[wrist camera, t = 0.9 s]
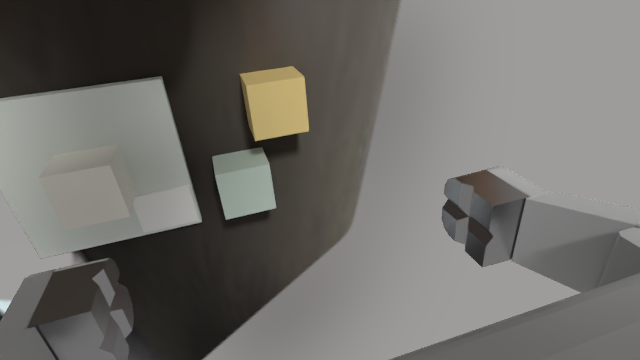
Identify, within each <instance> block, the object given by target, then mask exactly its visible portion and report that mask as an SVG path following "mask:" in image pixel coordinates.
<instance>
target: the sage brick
mask: <svg viewBox="0 0 640 360" xmlns="http://www.w3.org/2000/svg"><path fill="white" fill-rule="evenodd" d="M212 159H213V166H214V173H215V178H216V182H217V186H218V190H219V194H220V198H221V202H222V206H223V210H224V215H225V219H226V220H227V219H232V218H236V217H240V216H245V215H249V214H253V213H257V212H262V211H266V210H270V209H275V208H276V203H275V197H274V191H273V184H272V178H271V171H270V165H269V162H268V160H267V158H266V155H265V153H264V151H263V148H262V147H259V148H253V149H248V150H243V151H238V152H233V153H227V154H222V155H217V156H212Z"/></svg>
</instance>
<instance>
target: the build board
mask: <svg viewBox="0 0 640 360" xmlns="http://www.w3.org/2000/svg"><path fill="white" fill-rule="evenodd" d="M0 192H1V193H2V195H3V197H4V198H5V200H6V202H7V203H8V205H9V207H10V208H11V210H12V212H13V213H14V215H15V217H16V219H17V220H18V222H19V224H20V225H21V227H22V228H23V230H24V232H25V234H26V235H27V237H28V239H29V240H30V242H31V244H32V245H33V247H34V249H35V250H36V252H37V254H38V255H39V257H40V258H41V259H43V258H47V257H51V256H56V255H60V254H64V253H69V252H73V251H78V250H82V249H86V248H91V247H95V246H99V245H104V244H108V243H113V242H117V241H121V240H126V239H130V238H134V237H139V236H143V235H147V234H152V233H156V232H161V231H165V230H169V229H174V228H178V227H182V226H187V225H191V224H196V223H200V222H202V216H201V213H200V209H199V206H198V202H197V199H196V195H195V192H194V188H193V184H192V181H191V177H190V174H189V170H188V167H187V163H186V160H185V156H184V153H183V149H182V145H181V142H180V138H179V135H178V131H177V128H176V124H175V121H174V117H173V114H172V110H171V106H170V103H169V99H168V96H167V92H166V89H165V85H164V82H163V78H162V76H159V77H152V78H144V79H137V80H130V81H123V82H116V83H108V84H101V85H94V86H87V87H79V88H72V89H65V90H58V91H50V92H43V93H36V94H29V95H21V96H14V97H7V98H0Z"/></svg>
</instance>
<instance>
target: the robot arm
mask: <svg viewBox="0 0 640 360" xmlns="http://www.w3.org/2000/svg"><path fill="white" fill-rule="evenodd" d="M444 194H445V196H446V197H447V198H448V200H447V202H446V203H445V205H444V206H443V208H442V221H443V225H444V228H445V230H446V232H447V233H448V235H449V236H450V237H451V238H452V239H453V240H454V241H457V242H460V243H462V244H465V251H466V252H467V253H468V254H469V255H470V256H471V257H472V258H473V259H474V260H475V261H476V262H477V263H478V264H479V265H480V266H481V267H485V266H489V265H493V264H497V263H500V262H504V261H508V260H511V259H512V261H513V262H515V263H517V264H519V265H521V266H524V267H526V268H528V269H530V270H532V271H535V272H537V273H539V274H541V275H543V276H546V277H548V278H550V279H553V280H554V281H557V282H559V283H561V284H563V285H565V286H568V287H570V288H572V289H574V290H577V291H579V292H581V293H580V294H577V295H574V296H571V297H569V298H566V299H563V300H560V301H557V302H554V303H551V304H548V305H545V306H543V307H540V308H537V309H534V310H531V311H528V312H525V313H523V314H520V315H517V316H514V317H511V318H508V319H505V320H502V321H500V322H496V323H494V324H491V325H488V326H485V327H482V328H479V329H476V330H473V331H470V332H468V333H465V334H462V335H459V336H456V337H453V338H451V339H448V340H445V341H442V342H439V343H436V344H433V345H430V346H427V347H424V348H421V349H419V350H416V351H413V352H410V353H407V354H404V355H401V356H399V357H396V358H393V359H390V360H640V209H636V208H632V207H627V206H622V205H617V204H612V203H608V202H603V201H598V200H593V199H589V198H583V197H579V196H574V195H570V194H564V193H559V192H555V191H552V192H547V191H545V190H543V189H542V188H540V187H538V186H536V185H535V184H533V183H531V182H529V181H528V180H526V179H524V178H522V177H520V176H519V175H517V174H515V173H514V172H512V171H510V170H508V169H507V168H505V167H501V166H496V167H492V168H489V169H485V170H481V171H479V172H475V173H471V174H467V175H463V176H459V177H455V178H451V179H448V180H447V182H446V184H445V188H444ZM119 274H120V272H119V270H118V268H117V266H116V263H115V261H114V260H112V259H111V258H106V259H101V260H96V261H92V262H87V263H82V264H78V265H73V266H68V267H64V268H59V269H55V270H50V271H46V272H41V273H37V274H33V275H30V276H28V277H27V278H25V279H24V281H23V282H22V284H21V286H20V288H19V290H18V291H17V293H16V295H15V296H14V298H13V300H12V302H11V304H10V305H9V307H8V309H7V311H6V312H5V314H4V316H3V318H2V320H1V321H0V360H127V358H128V352H129V346H128V344H127V342H126V340H125V338H126V337H127V336H128V335H129V333H130V332H131V331H132V327H133V320H134V319H133V305H132V302H131V298H130V295H129V292H128V290H127V288H126V287H124V286H122V285H120V284H119V283H117V282H118V278H119Z"/></svg>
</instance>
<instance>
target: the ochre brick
mask: <svg viewBox="0 0 640 360" xmlns="http://www.w3.org/2000/svg"><path fill="white" fill-rule="evenodd" d="M240 78H241V84H242V90H243V96H244V101H245V107H246V113H247V118H248V124H249V127H250V130H251V132H252V134H253V137H254V139H255V141H259V140H264V139H269V138H275V137H280V136H285V135H291V134H296V133H301V132H307V131H309V124H308V113H307V101H306V90H305V78H304V76H303V75H302V74H301V73H300V72H298V71H297V70H296V69H295V68H294V67H293V66H292V67H285V68H278V69H271V70H264V71H257V72H250V73H243V74H240Z"/></svg>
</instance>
